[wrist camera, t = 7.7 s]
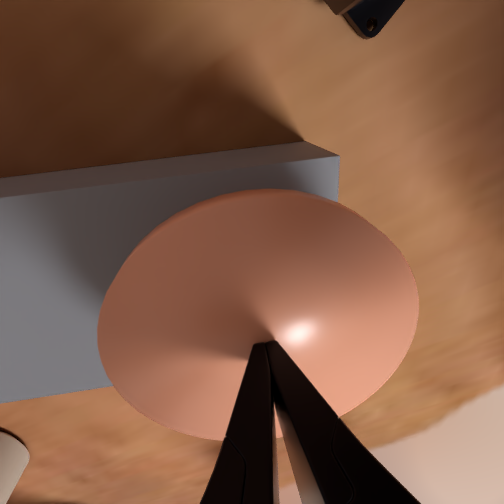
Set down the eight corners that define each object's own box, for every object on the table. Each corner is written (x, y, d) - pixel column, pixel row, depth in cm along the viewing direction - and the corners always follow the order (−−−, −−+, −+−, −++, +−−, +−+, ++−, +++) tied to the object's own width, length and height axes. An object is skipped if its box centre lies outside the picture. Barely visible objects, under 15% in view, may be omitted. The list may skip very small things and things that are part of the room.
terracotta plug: (229, 102, 12) (238, 100, 6) (385, 242, 16) (476, 318, 10) (105, 281, 15) (38, 385, 9) (260, 359, 19) (277, 464, 13)
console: (305, 141, 15) (340, 155, 11) (306, 299, 21) (330, 352, 16) (-236, 206, 14) (-441, 252, 10) (-89, 357, 19) (-179, 431, 15)
